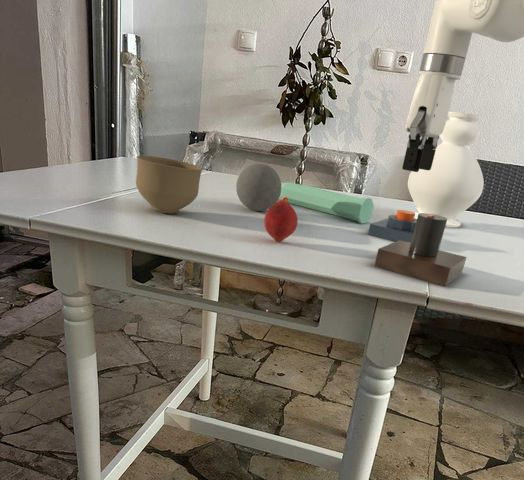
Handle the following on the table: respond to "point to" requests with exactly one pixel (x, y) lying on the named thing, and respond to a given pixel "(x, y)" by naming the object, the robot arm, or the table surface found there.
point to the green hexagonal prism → (328, 201)
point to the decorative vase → (450, 172)
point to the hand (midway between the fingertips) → (416, 169)
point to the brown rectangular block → (420, 263)
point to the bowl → (167, 183)
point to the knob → (427, 234)
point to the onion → (280, 220)
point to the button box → (393, 229)
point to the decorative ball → (258, 187)
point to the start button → (405, 215)
